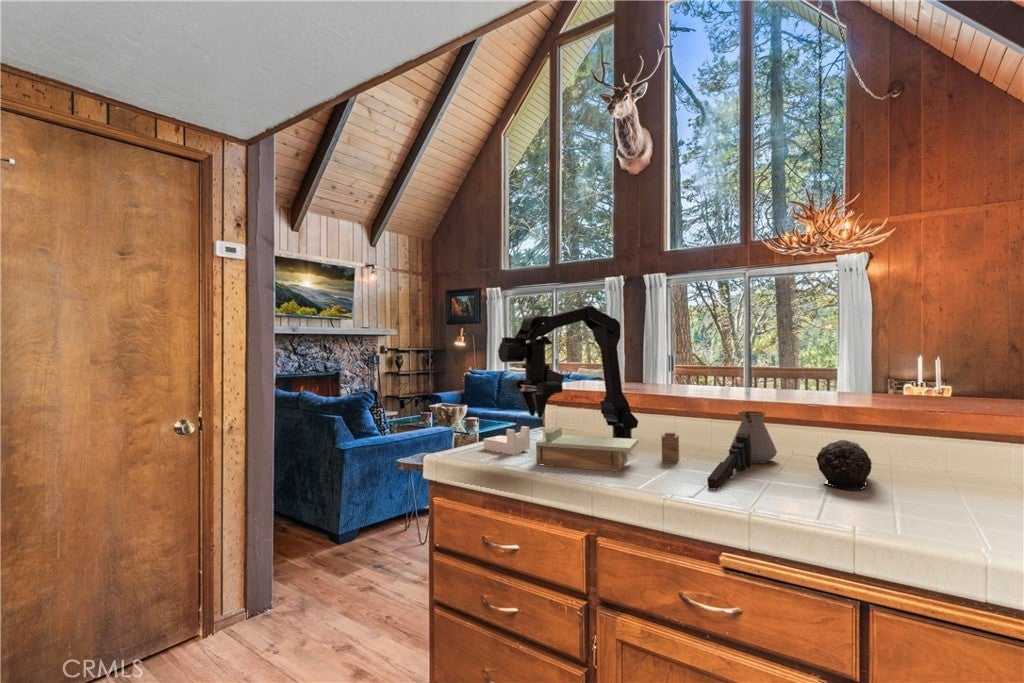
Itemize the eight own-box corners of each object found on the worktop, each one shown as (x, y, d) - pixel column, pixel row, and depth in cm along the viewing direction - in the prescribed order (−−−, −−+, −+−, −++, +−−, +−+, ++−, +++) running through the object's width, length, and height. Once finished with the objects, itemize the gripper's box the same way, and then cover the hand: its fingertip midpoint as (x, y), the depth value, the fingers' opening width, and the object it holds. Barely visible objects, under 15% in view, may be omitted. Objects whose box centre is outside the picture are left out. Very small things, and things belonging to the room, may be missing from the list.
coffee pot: (732, 454, 149) (731, 401, 149) (778, 457, 144) (777, 403, 144) (722, 471, 131) (721, 411, 131) (773, 476, 125) (772, 413, 125)
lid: (550, 437, 152) (550, 426, 152) (638, 442, 143) (637, 430, 143) (536, 445, 141) (535, 433, 141) (629, 451, 132) (629, 438, 132)
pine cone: (870, 475, 124) (869, 433, 124) (873, 495, 109) (872, 447, 109) (819, 470, 130) (818, 429, 130) (815, 488, 115) (814, 442, 115)
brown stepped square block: (664, 459, 145) (663, 430, 145) (679, 460, 143) (678, 431, 143) (662, 462, 141) (661, 433, 141) (677, 463, 140) (677, 434, 140)
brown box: (551, 455, 152) (550, 438, 152) (627, 460, 144) (627, 442, 144) (535, 465, 141) (535, 446, 141) (617, 472, 132) (617, 452, 132)
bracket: (530, 452, 159) (529, 427, 159) (513, 456, 154) (512, 430, 154) (500, 446, 168) (500, 422, 168) (483, 450, 163) (483, 425, 163)
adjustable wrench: (708, 508, 118) (741, 463, 137) (721, 510, 116) (752, 465, 135) (705, 473, 117) (738, 433, 135) (717, 475, 115) (749, 434, 134)
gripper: (578, 360, 143) (579, 418, 143) (542, 359, 160) (543, 410, 160) (543, 362, 138) (544, 422, 138) (509, 360, 154) (511, 413, 154)
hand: (536, 416), depth 148 cm, fingers open, 4 cm apart
